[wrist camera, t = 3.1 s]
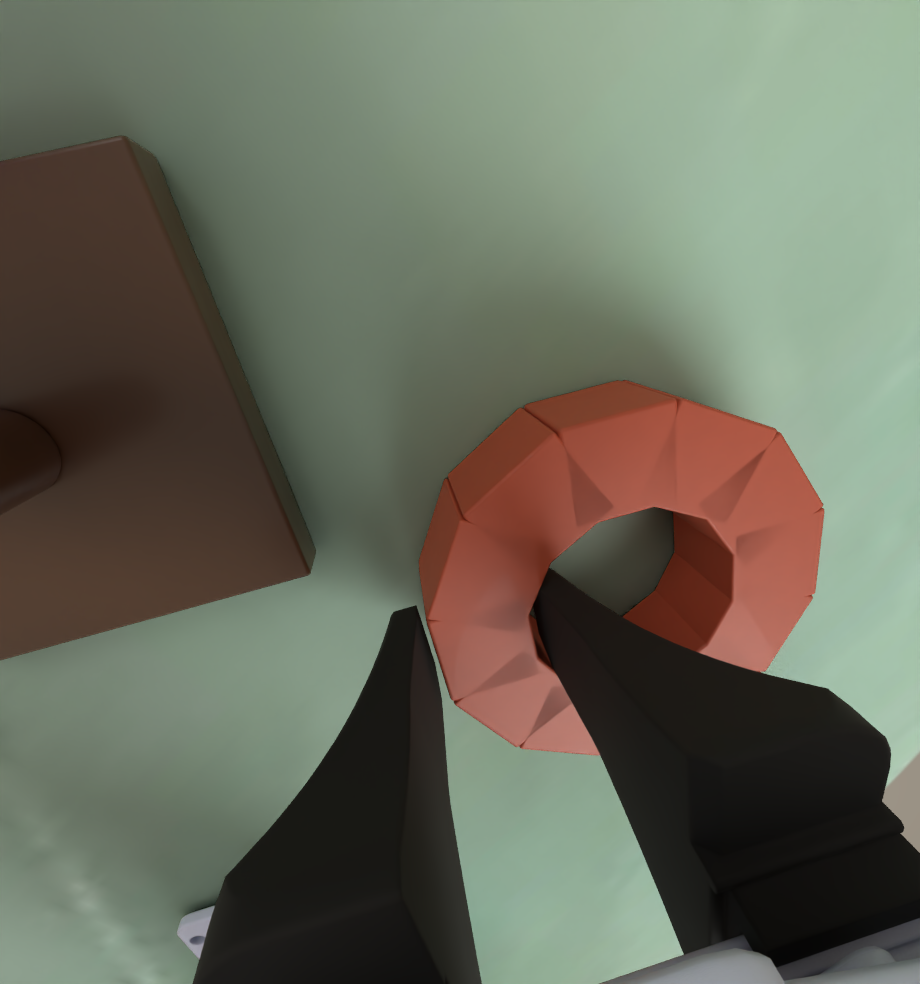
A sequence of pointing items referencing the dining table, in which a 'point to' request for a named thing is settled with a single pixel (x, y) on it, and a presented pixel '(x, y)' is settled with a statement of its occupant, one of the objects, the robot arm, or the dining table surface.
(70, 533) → the post
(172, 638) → the dining table surface
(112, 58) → the dining table surface
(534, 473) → the ring
